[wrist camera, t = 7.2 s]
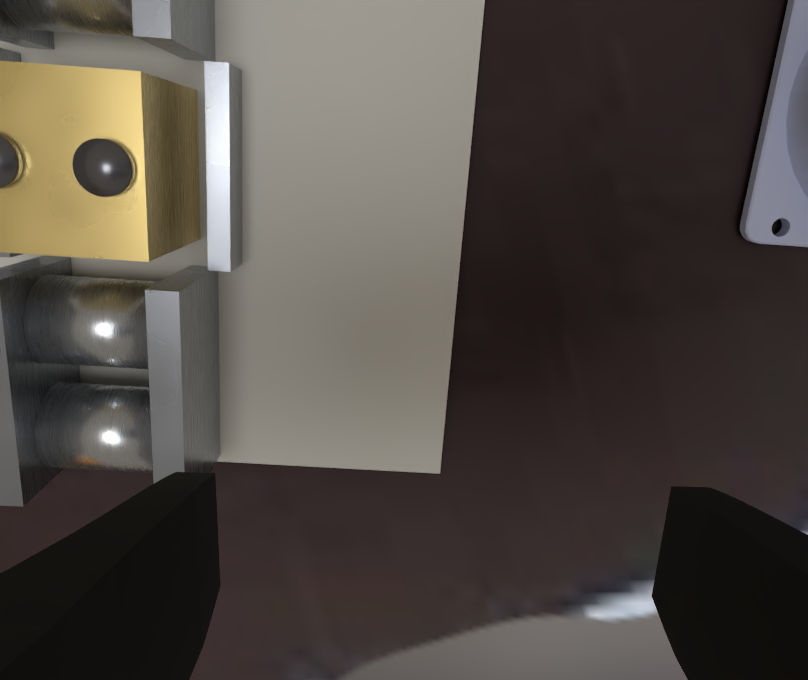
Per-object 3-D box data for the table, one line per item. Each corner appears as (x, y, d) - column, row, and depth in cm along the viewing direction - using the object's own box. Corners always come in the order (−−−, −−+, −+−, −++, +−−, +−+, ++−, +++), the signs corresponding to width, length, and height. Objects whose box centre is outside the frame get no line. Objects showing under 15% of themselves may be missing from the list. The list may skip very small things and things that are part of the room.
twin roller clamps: (241, -206, 15) (198, -309, 12) (242, 455, 20) (212, 516, 17) (-32, -232, 15) (-155, -344, 12) (37, 444, 20) (-36, 503, 16)
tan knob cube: (200, 239, 18) (143, 264, 14) (58, 229, 18) (-41, 251, 14) (197, 90, 17) (135, 69, 13) (45, 79, 17) (-67, 53, 13)
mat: (501, -189, 16) (503, -194, 15) (439, 469, 21) (439, 473, 20) (-81, -242, 15) (-90, -250, 15) (1, 445, 20) (-5, 449, 20)
